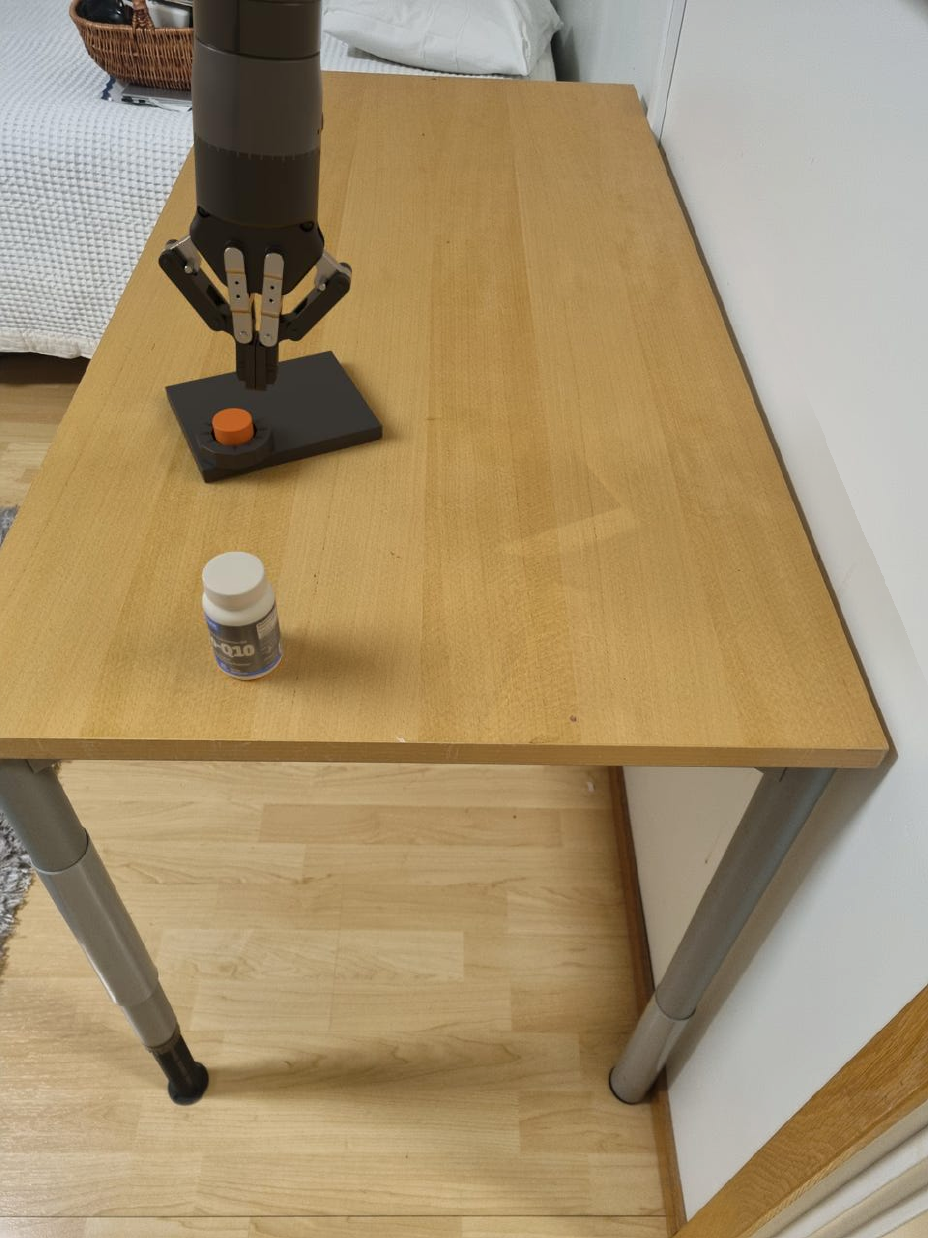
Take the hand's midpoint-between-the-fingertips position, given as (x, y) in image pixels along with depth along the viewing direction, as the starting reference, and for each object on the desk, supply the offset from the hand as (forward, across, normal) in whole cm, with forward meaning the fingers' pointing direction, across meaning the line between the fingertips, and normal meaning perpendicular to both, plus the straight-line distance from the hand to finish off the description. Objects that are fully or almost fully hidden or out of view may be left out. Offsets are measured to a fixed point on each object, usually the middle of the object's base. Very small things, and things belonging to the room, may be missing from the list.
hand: (257, 384), depth 67 cm
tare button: (+9, -3, +7) cm, 12 cm away
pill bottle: (+13, +1, -15) cm, 20 cm away
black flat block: (+11, 0, +13) cm, 17 cm away
